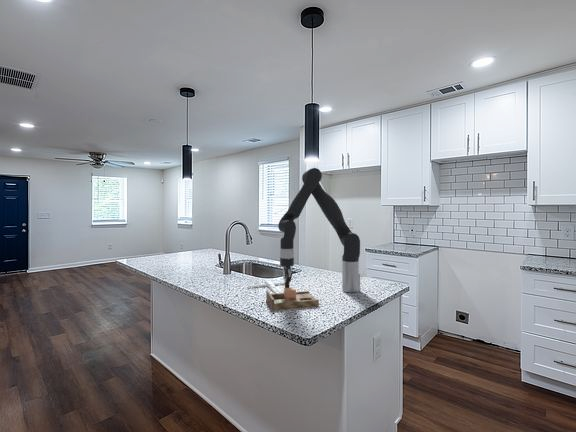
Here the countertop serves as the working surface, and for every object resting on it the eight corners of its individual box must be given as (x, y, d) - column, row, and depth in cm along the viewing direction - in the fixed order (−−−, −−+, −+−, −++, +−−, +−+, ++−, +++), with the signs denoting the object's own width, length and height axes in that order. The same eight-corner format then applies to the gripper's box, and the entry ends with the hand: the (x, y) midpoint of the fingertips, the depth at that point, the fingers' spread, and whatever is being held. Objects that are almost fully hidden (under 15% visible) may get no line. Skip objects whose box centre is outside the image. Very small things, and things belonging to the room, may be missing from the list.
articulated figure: (258, 294, 158) (244, 279, 186) (258, 302, 159) (244, 285, 186) (305, 289, 168) (286, 275, 196) (305, 296, 168) (286, 281, 196)
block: (293, 294, 159) (293, 287, 159) (295, 297, 154) (295, 289, 154) (284, 295, 158) (284, 287, 158) (286, 298, 153) (286, 290, 153)
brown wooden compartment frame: (308, 296, 163) (308, 287, 163) (318, 305, 148) (318, 295, 148) (266, 300, 158) (266, 290, 158) (272, 310, 142) (272, 299, 142)
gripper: (277, 255, 168) (277, 286, 169) (282, 259, 156) (282, 292, 156) (290, 254, 170) (290, 285, 171) (297, 258, 157) (297, 291, 158)
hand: (287, 288), depth 163 cm, fingers closed
